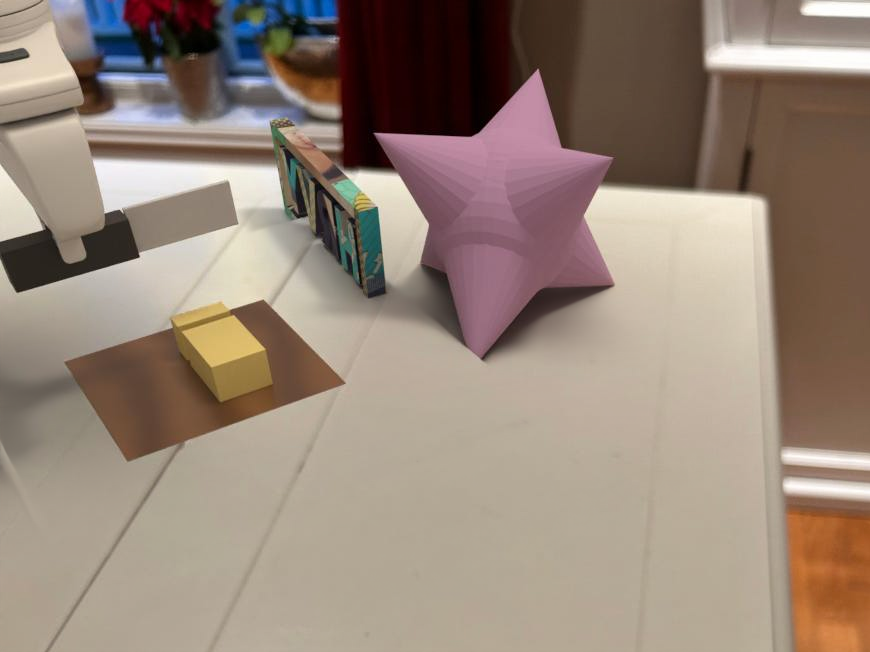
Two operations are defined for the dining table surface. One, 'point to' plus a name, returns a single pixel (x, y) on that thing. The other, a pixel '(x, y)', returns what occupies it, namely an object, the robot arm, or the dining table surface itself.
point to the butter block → (227, 358)
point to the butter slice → (196, 321)
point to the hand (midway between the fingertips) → (67, 250)
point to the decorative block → (329, 205)
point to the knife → (120, 236)
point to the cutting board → (192, 384)
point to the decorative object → (503, 211)
